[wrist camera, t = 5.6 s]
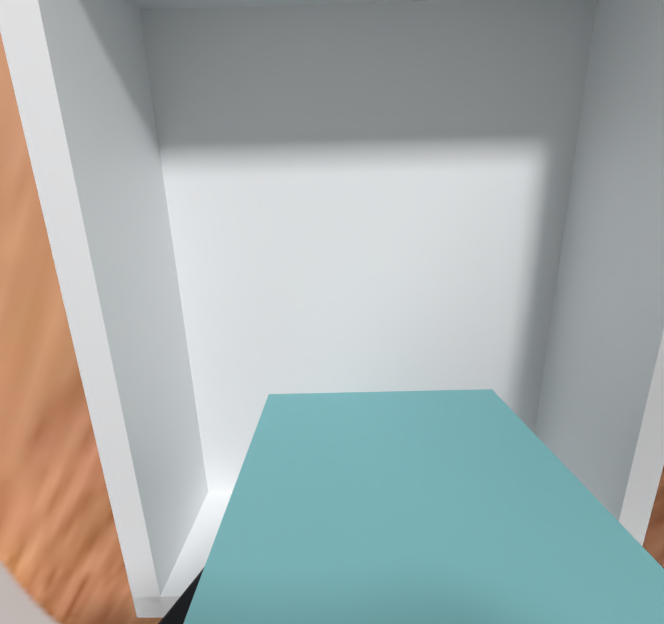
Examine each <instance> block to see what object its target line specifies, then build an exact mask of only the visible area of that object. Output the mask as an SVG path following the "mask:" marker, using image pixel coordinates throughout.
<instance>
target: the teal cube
mask: <svg viewBox="0 0 664 624" xmlns="http://www.w3.org/2000/svg"><path fill="white" fill-rule="evenodd" d="M183 624H664V568H663V567H662V566H661V565H660V564H659V563H658V562H657V561H656V560H655V559H654V558H653V557H652V556H651V555H650V554H649V553H648V552H647V551H646V550H645V549H644V548H643V547H642V545H641V544H640V543H639V542H638V541H637V540H636V539H635V538H634V537H633V536H632V535H631V534H630V533H629V532H628V531H627V530H626V529H625V528H624V527H623V526H622V525H621V524H620V522H619V521H618V520H617V519H616V518H615V517H614V516H613V515H612V514H611V513H610V512H609V511H608V510H607V509H606V508H605V507H604V506H603V505H602V504H601V503H600V502H599V501H598V500H597V498H596V497H595V496H594V495H593V494H592V493H591V492H590V491H589V490H588V489H587V488H586V487H585V486H584V485H583V484H582V483H581V482H580V481H579V480H578V479H577V478H576V477H575V475H574V474H573V473H572V472H571V471H570V470H569V469H568V468H567V467H566V466H565V465H564V464H563V463H562V462H561V461H560V460H559V459H558V458H557V457H556V456H555V455H554V454H553V453H552V451H551V450H550V449H549V448H548V447H547V446H546V445H545V444H544V443H543V442H542V441H541V440H540V439H539V438H538V437H537V436H536V435H535V434H534V433H533V432H532V431H531V430H530V429H529V427H528V426H527V425H526V424H525V423H524V422H523V421H522V420H521V419H520V418H519V417H518V416H517V415H516V414H515V413H514V412H513V411H512V410H511V409H510V408H509V407H508V406H507V404H506V403H505V402H504V401H503V400H502V399H501V398H500V397H499V396H498V395H497V394H496V393H495V392H494V391H493V390H492V389H480V390H435V391H390V392H344V393H299V394H269V395H268V397H267V400H266V403H265V406H264V408H263V411H262V414H261V416H260V419H259V422H258V424H257V427H256V430H255V432H254V435H253V438H252V441H251V443H250V446H249V449H248V451H247V454H246V457H245V459H244V462H243V465H242V467H241V470H240V473H239V475H238V478H237V481H236V484H235V486H234V489H233V492H232V494H231V497H230V500H229V502H228V505H227V508H226V510H225V513H224V516H223V518H222V521H221V524H220V527H219V529H218V532H217V535H216V537H215V540H214V543H213V545H212V548H211V551H210V553H209V556H208V559H207V561H206V564H205V567H204V570H203V572H202V575H201V578H200V580H199V583H198V586H197V588H196V591H195V594H194V596H193V599H192V602H191V604H190V607H189V610H188V613H187V615H186V618H185V621H184V623H183Z"/></svg>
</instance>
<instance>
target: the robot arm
mask: <svg viewBox="0 0 664 624" xmlns="http://www.w3.org/2000/svg"><path fill="white" fill-rule="evenodd" d="M203 570H204V568H203V569H202V570H201V572H200V573H199V574H198V575H197V576H196V578H195V579H194V580H193V581H192V583H191V584H190V585H189V586H188V588H187V589H186V590H185V591H184V593H183V594H182V595H181V596H180V597H179V599H178V600H177V601H176V602H175V604H174V605H173V606H172V607H171V609H170V610H169V611H168V612H167V613H166V615H165V616H164V617H163V618H162V620H161V621H160V622H159V623H158V624H183V623H184V621H185V618H186V615H187V613H188V610H189V607H190V604H191V602H192V599H193V596H194V594H195V591H196V588H197V586H198V583H199V580H200V578H201V575H202V572H203Z"/></svg>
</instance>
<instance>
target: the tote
mask: <svg viewBox="0 0 664 624" xmlns="http://www.w3.org/2000/svg"><path fill="white" fill-rule="evenodd" d="M0 32H1V36H2V40H3V44H4V49H5V53H6V57H7V62H8V66H9V70H10V74H11V79H12V83H13V87H14V92H15V96H16V100H17V104H18V109H19V113H20V117H21V122H22V126H23V130H24V134H25V139H26V143H27V147H28V152H29V156H30V160H31V164H32V169H33V173H34V177H35V182H36V186H37V190H38V194H39V199H40V203H41V207H42V212H43V216H44V220H45V224H46V229H47V233H48V237H49V242H50V246H51V250H52V255H53V259H54V263H55V267H56V272H57V276H58V280H59V285H60V289H61V293H62V297H63V302H64V306H65V310H66V315H67V319H68V323H69V327H70V332H71V336H72V340H73V345H74V349H75V353H76V357H77V362H78V366H79V370H80V375H81V379H82V383H83V387H84V392H85V396H86V400H87V405H88V409H89V413H90V417H91V422H92V426H93V430H94V435H95V439H96V443H97V447H98V452H99V456H100V460H101V465H102V469H103V473H104V477H105V482H106V486H107V490H108V495H109V499H110V503H111V507H112V512H113V516H114V520H115V525H116V529H117V533H118V537H119V542H120V546H121V550H122V555H123V559H124V563H125V567H126V572H127V576H128V580H129V585H130V589H131V593H132V597H133V602H134V606H135V610H136V615H137V618H156V617H164V616H165V615H166V613H167V612H168V611H169V610H170V609H171V607H172V606H173V605H174V604H175V602H176V601H177V600H178V599H179V597H180V596H181V595H182V594H183V593H184V591H185V590H186V589H187V588H188V586H189V585H190V584H191V583H192V581H193V580H194V579H195V578H196V576H197V575H198V574H199V573H200V572H201V570H202V569H203V568H204V567H205V564H206V561H207V559H208V556H209V553H210V551H211V548H212V545H213V543H214V540H215V537H216V535H217V532H218V529H219V527H220V524H221V521H222V518H223V516H224V513H225V510H226V508H227V505H228V502H229V500H230V497H231V494H232V492H233V489H234V486H235V484H236V481H237V478H238V475H239V473H240V470H241V467H242V465H243V462H244V459H245V457H246V454H247V451H248V449H249V446H250V443H251V441H252V438H253V435H254V432H255V430H256V427H257V424H258V422H259V419H260V416H261V414H262V411H263V408H264V406H265V403H266V400H267V397H268V395H269V394H299V393H344V392H390V391H435V390H480V389H492V390H493V391H494V392H495V393H496V394H497V395H498V396H499V397H500V398H501V399H502V400H503V401H504V402H505V403H506V404H507V406H508V407H509V408H510V409H511V410H512V411H513V412H514V413H515V414H516V415H517V416H518V417H519V418H520V419H521V420H522V421H523V422H524V423H525V424H526V425H527V426H528V427H529V429H530V430H531V431H532V432H533V433H534V434H535V435H536V436H537V437H538V438H539V439H540V440H541V441H542V442H543V443H544V444H545V445H546V446H547V447H548V448H549V449H550V450H551V451H552V453H553V454H554V455H555V456H556V457H557V458H558V459H559V460H560V461H561V462H562V463H563V464H564V465H565V466H566V467H567V468H568V469H569V470H570V471H571V472H572V473H573V474H574V475H575V477H576V478H577V479H578V480H579V481H580V482H581V483H582V484H583V485H584V486H585V487H586V488H587V489H588V490H589V491H590V492H591V493H592V494H593V495H594V496H595V497H596V498H597V500H598V501H599V502H600V503H601V504H602V505H603V506H604V507H605V508H606V509H607V510H608V511H609V512H610V513H611V514H612V515H613V516H614V517H615V518H616V519H617V520H618V521H619V522H620V524H621V525H622V526H623V527H624V528H625V529H626V530H627V531H628V532H629V533H630V534H631V535H632V536H633V537H634V538H635V539H636V540H637V541H638V542H639V543H640V544H641V545H642V546H643V542H644V539H645V535H646V531H647V527H648V523H649V519H650V516H651V512H652V508H653V504H654V500H655V497H656V493H657V489H658V485H659V481H660V478H661V474H662V470H663V466H664V0H0Z"/></svg>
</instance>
